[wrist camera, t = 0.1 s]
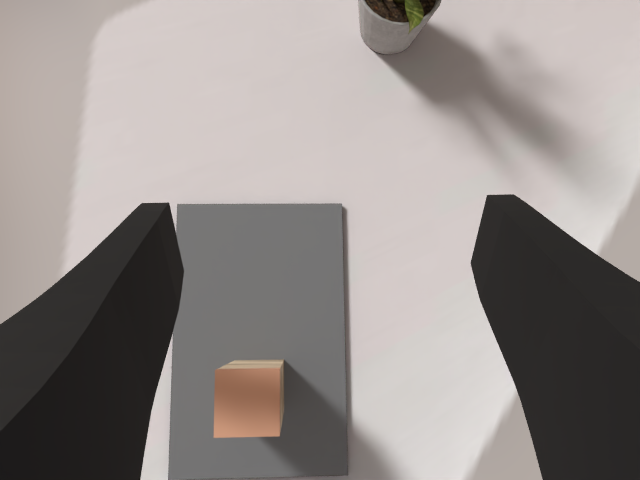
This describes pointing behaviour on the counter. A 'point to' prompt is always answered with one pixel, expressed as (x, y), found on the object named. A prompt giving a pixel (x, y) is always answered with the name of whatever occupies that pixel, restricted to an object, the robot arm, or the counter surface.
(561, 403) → the robot arm
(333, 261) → the rubber mat
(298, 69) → the counter surface
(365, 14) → the house plant
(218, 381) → the long block
